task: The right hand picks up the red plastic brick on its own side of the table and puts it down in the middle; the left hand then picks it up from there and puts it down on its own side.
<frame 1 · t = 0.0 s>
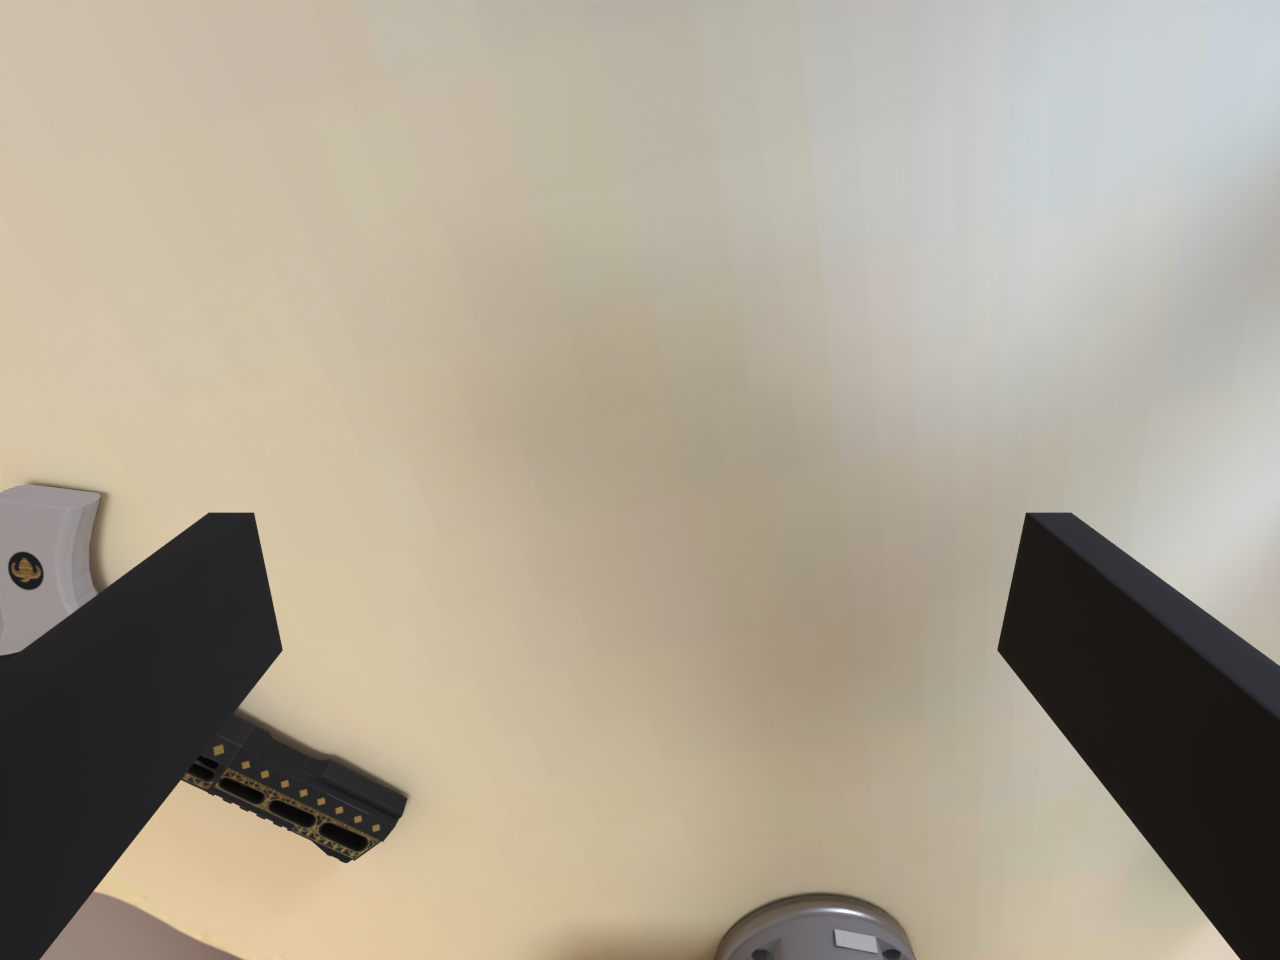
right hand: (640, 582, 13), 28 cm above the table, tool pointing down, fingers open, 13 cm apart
decorative firearm: (223, 672, 47), on the table
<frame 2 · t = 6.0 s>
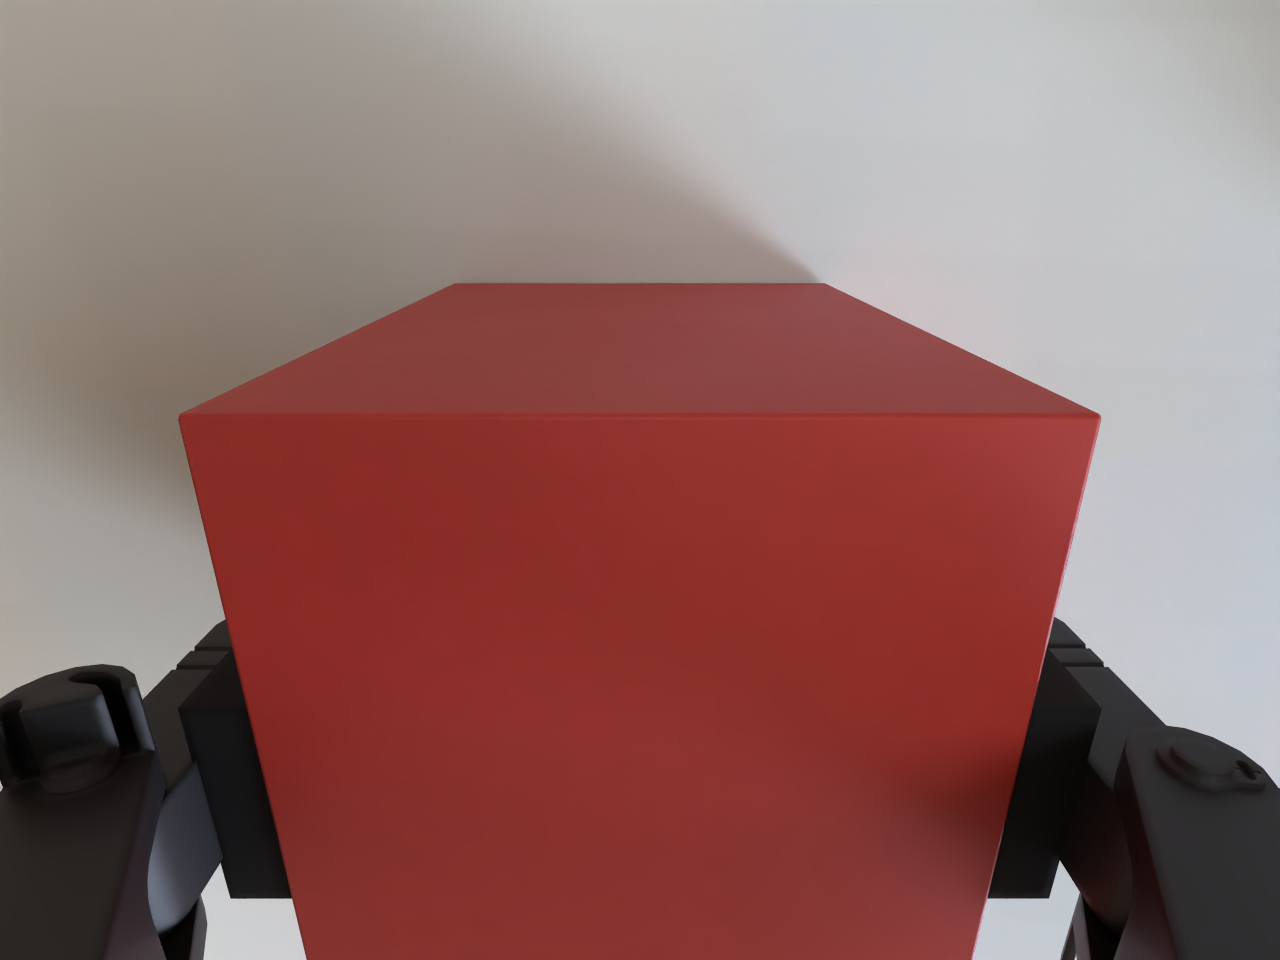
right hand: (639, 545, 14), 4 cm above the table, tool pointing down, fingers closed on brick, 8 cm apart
brick: (639, 478, 17), on the table, touching right hand
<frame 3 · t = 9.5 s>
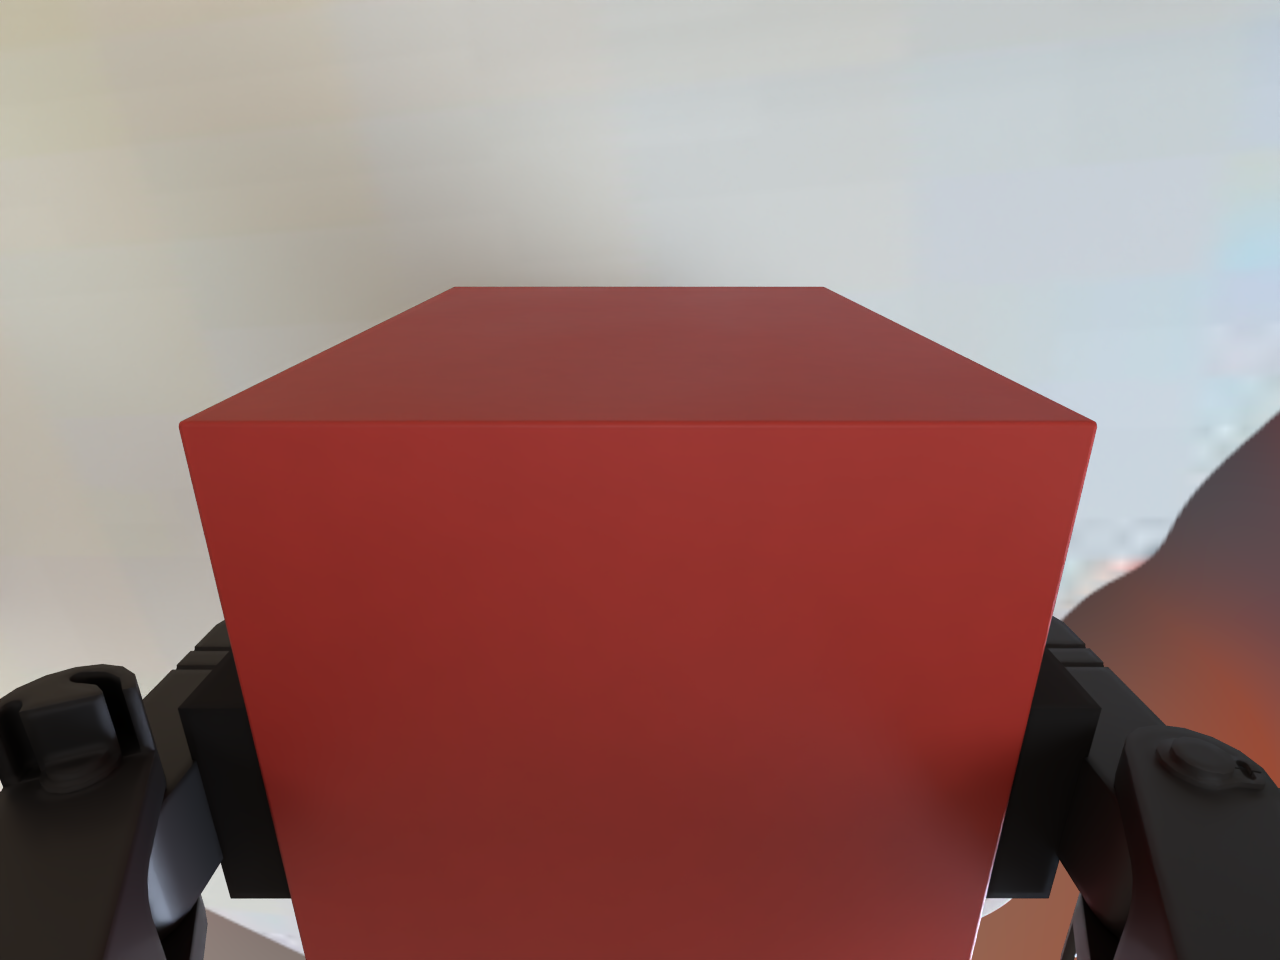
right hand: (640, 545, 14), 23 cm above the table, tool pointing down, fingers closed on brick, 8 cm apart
brick: (639, 481, 17), point 19 cm above the table, touching right hand
when the right hand's fingers open (5 cm above the table, at t = 13.2 s): brick drops 1 cm, on the table.
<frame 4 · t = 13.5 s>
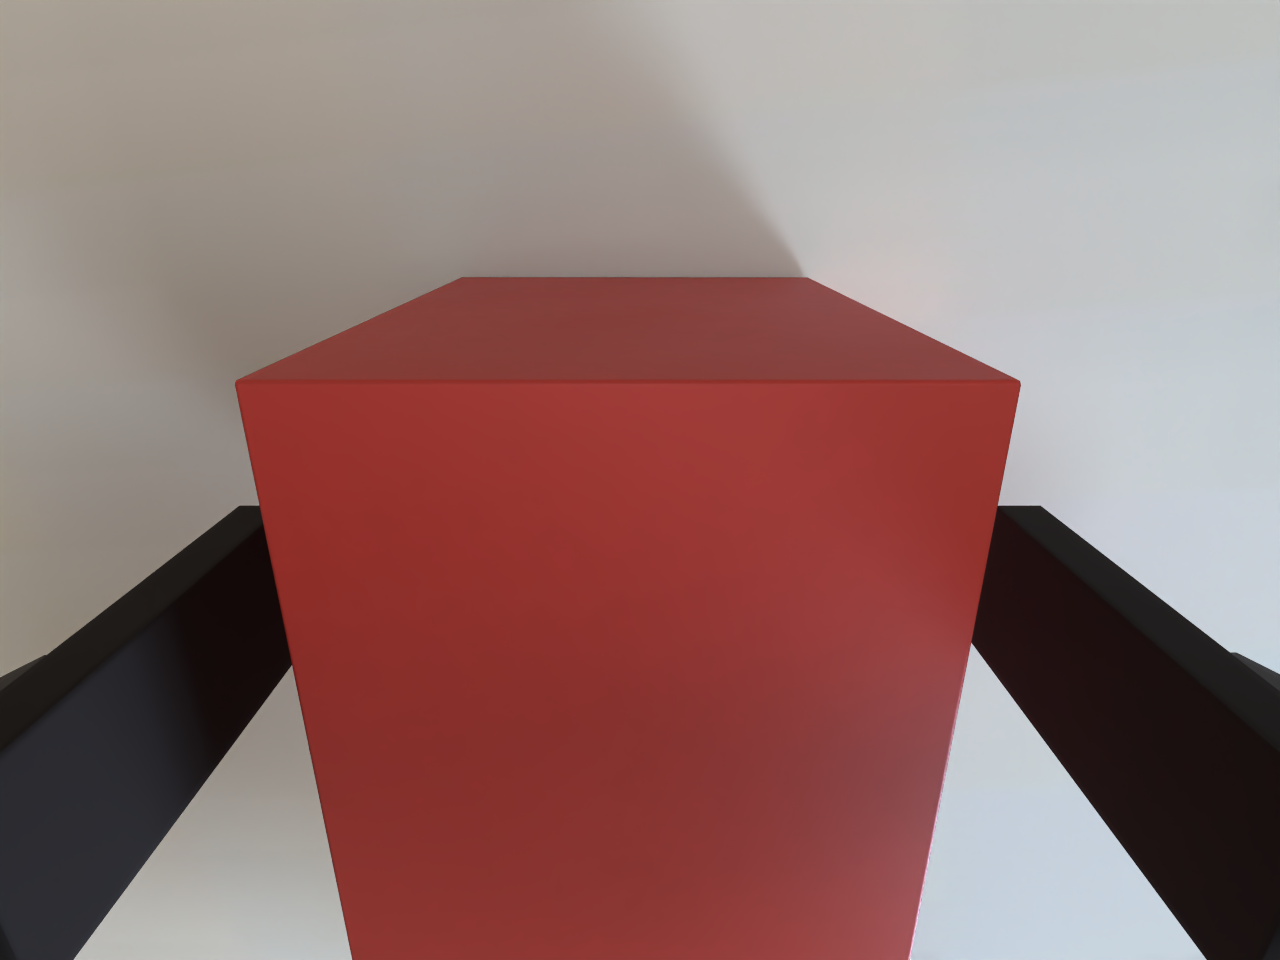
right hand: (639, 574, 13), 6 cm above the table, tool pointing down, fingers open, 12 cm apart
brick: (635, 461, 18), on the table
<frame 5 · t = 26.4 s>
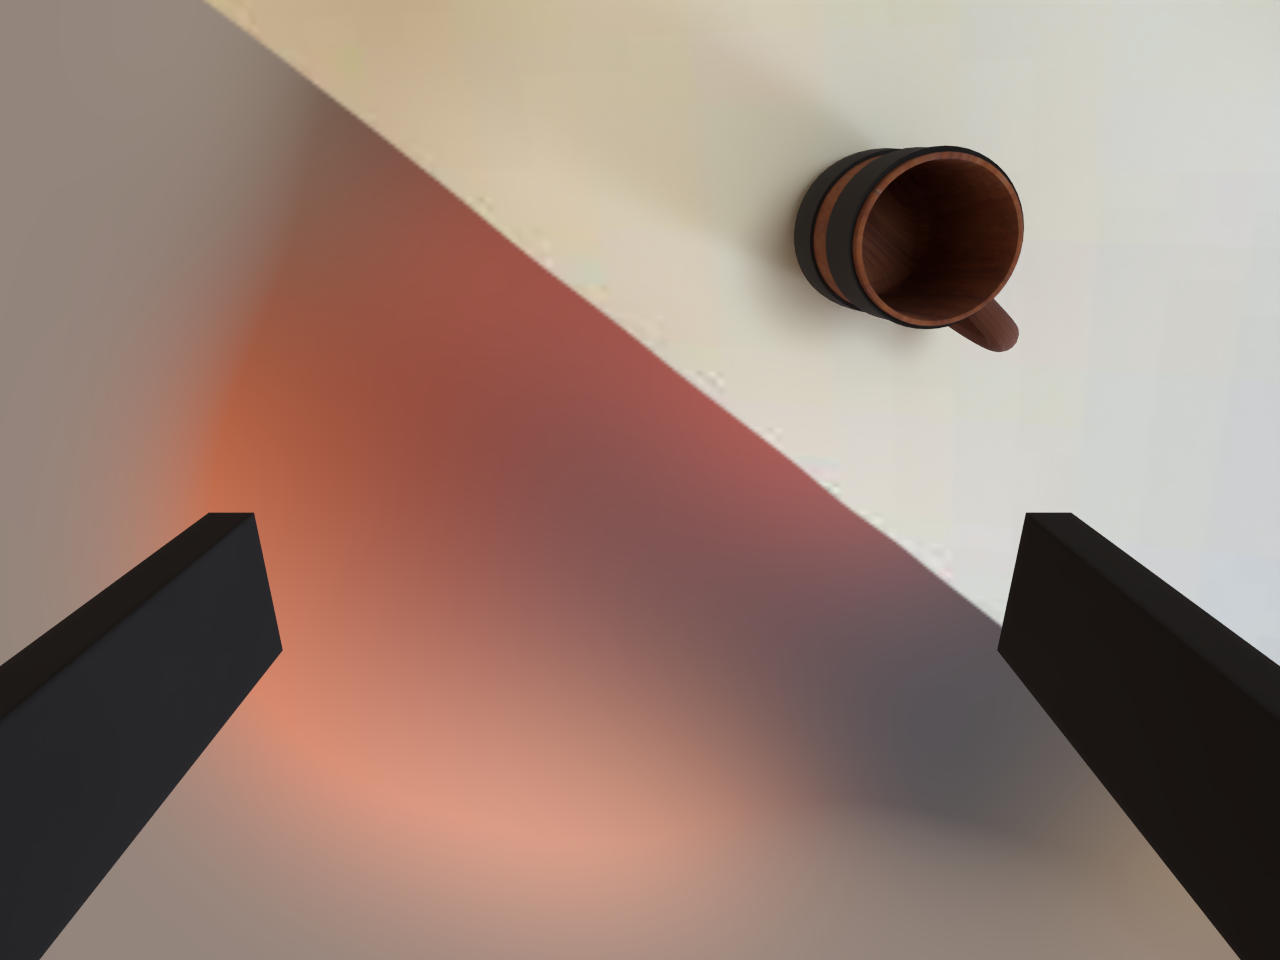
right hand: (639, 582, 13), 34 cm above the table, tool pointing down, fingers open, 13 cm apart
mug: (881, 251, 44), on the table
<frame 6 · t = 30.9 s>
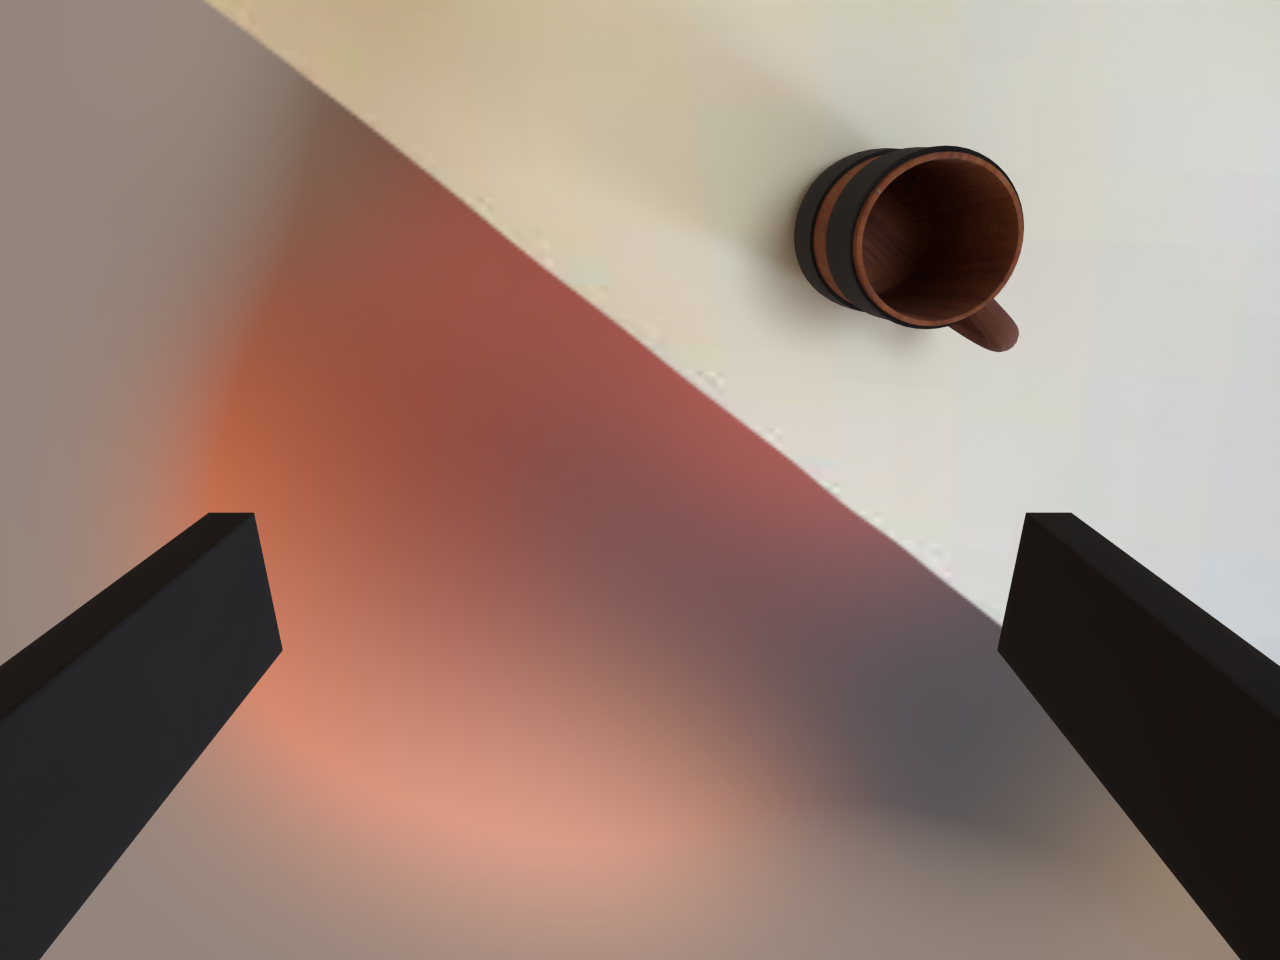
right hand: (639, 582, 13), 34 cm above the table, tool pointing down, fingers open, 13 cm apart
mug: (881, 251, 44), on the table
when the left hand's fingers open (5 cm above the table, at t = 35.3 s): brick drops 1 cm, on the table.
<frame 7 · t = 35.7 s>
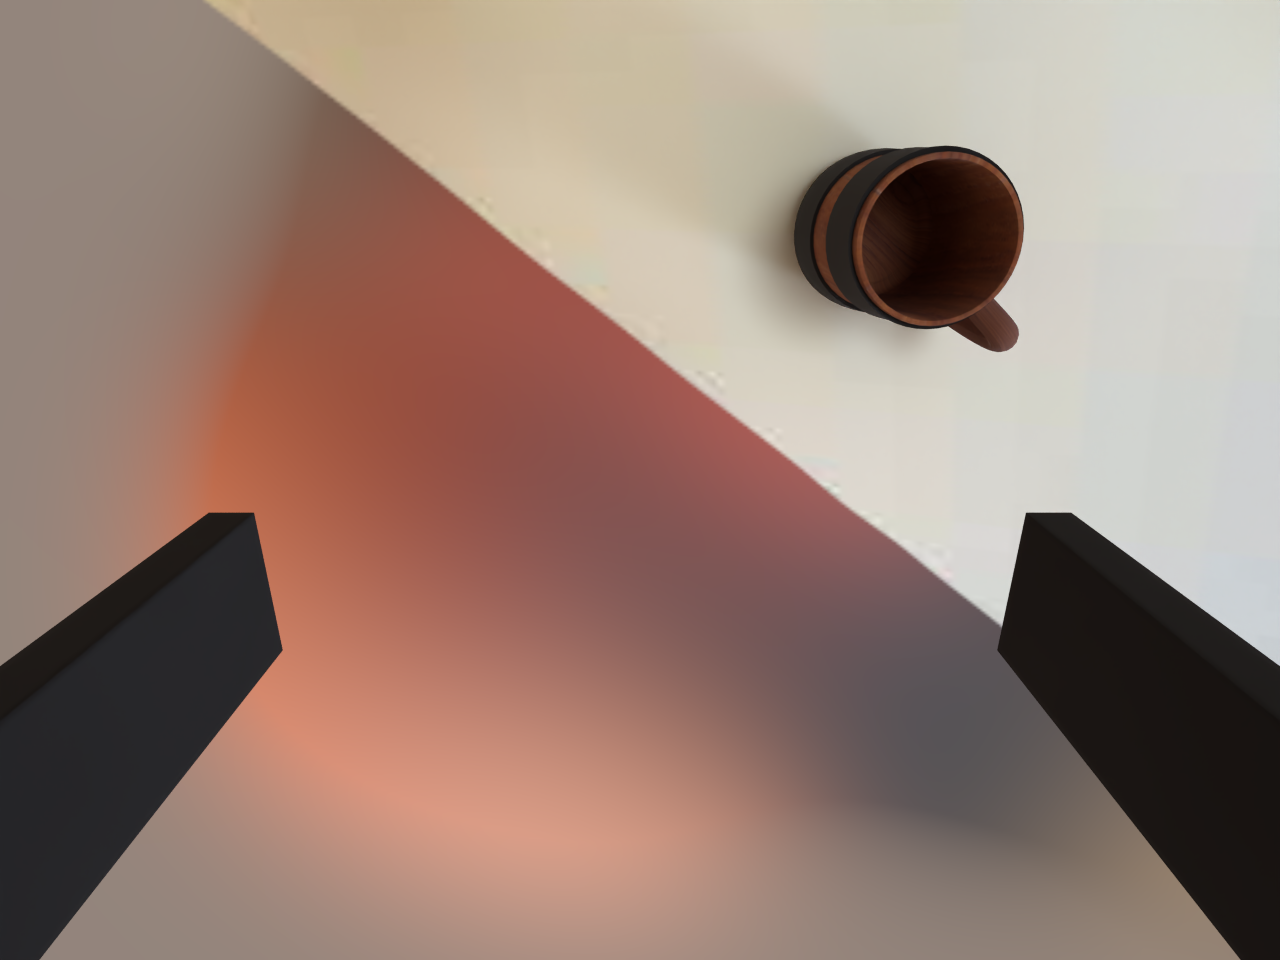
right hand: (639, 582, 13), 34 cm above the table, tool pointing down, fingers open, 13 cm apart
mug: (881, 251, 44), on the table
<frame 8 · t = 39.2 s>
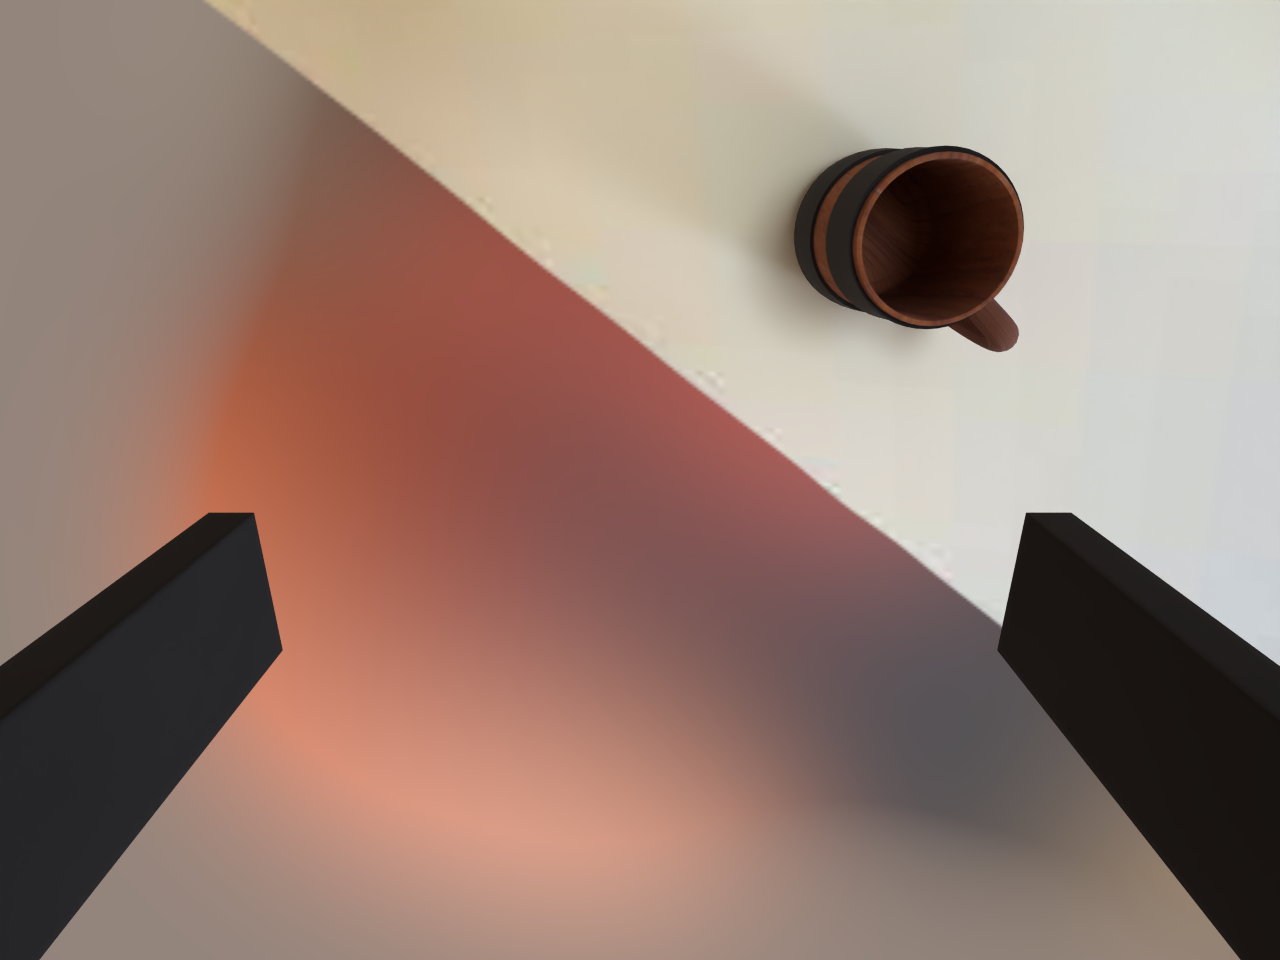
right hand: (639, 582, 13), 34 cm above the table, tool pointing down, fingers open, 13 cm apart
mug: (881, 251, 44), on the table
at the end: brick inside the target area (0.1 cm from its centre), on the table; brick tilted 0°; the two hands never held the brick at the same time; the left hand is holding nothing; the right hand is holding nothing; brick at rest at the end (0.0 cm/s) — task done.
